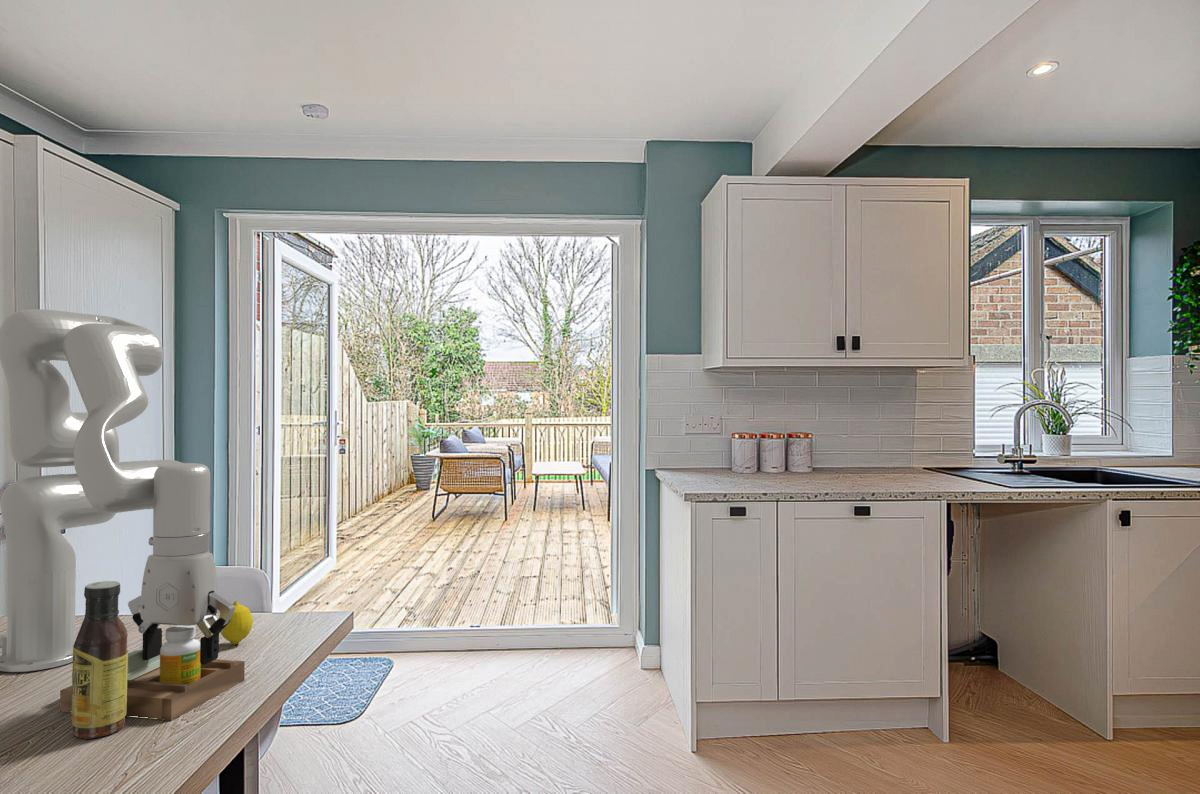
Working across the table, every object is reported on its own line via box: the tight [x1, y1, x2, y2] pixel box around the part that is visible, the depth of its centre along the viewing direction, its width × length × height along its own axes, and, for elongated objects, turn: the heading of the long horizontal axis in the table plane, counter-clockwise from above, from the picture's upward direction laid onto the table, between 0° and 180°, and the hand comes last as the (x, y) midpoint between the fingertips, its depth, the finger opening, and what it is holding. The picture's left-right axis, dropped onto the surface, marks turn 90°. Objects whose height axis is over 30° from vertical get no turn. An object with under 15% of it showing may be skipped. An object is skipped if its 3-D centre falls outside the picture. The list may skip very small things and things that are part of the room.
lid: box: [127, 642, 164, 680], centre depth 117 cm, size 8×8×4 cm
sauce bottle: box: [71, 580, 129, 740], centre depth 103 cm, size 6×6×20 cm
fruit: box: [219, 600, 254, 646], centre depth 140 cm, size 6×6×8 cm
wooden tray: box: [59, 658, 245, 721], centre depth 116 cm, size 18×16×4 cm
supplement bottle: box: [160, 625, 201, 684], centre depth 115 cm, size 5×5×10 cm
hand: (180, 659), depth 115 cm, fingers open, 9 cm apart
